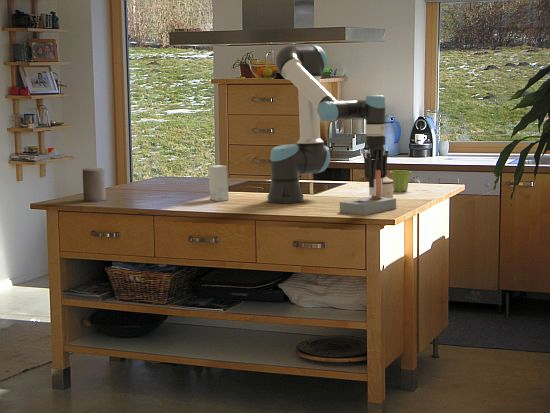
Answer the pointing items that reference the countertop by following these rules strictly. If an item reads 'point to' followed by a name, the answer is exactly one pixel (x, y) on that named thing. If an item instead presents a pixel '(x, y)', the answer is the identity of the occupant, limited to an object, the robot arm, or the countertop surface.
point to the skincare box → (218, 183)
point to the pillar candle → (94, 184)
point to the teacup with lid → (387, 188)
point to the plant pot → (400, 180)
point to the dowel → (377, 185)
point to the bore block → (367, 205)
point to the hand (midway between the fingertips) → (375, 194)
